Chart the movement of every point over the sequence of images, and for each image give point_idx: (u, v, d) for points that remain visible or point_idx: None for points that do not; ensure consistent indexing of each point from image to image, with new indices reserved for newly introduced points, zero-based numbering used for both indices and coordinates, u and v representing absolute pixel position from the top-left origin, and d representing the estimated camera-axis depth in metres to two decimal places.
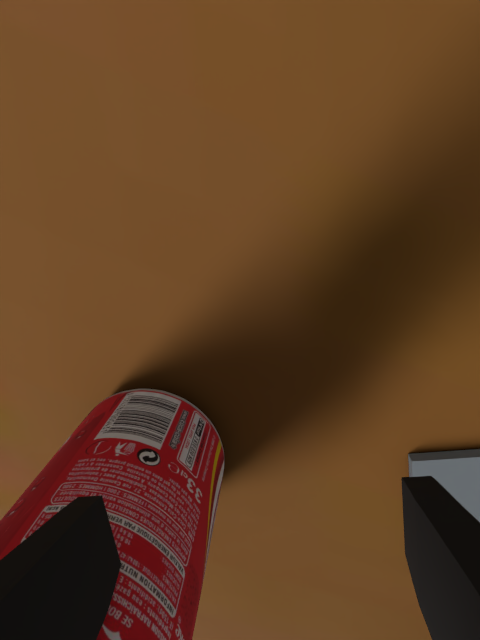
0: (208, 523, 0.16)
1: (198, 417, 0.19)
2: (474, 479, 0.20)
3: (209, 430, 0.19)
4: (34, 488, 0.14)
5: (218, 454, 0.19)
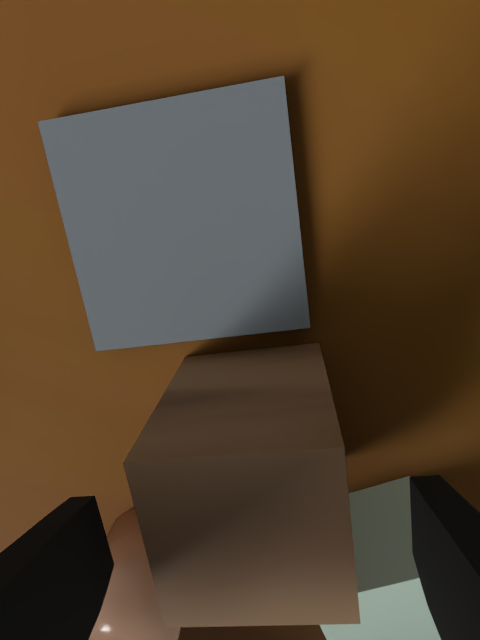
0: None
1: None
2: (137, 150, 0.12)
3: None
4: None
5: None
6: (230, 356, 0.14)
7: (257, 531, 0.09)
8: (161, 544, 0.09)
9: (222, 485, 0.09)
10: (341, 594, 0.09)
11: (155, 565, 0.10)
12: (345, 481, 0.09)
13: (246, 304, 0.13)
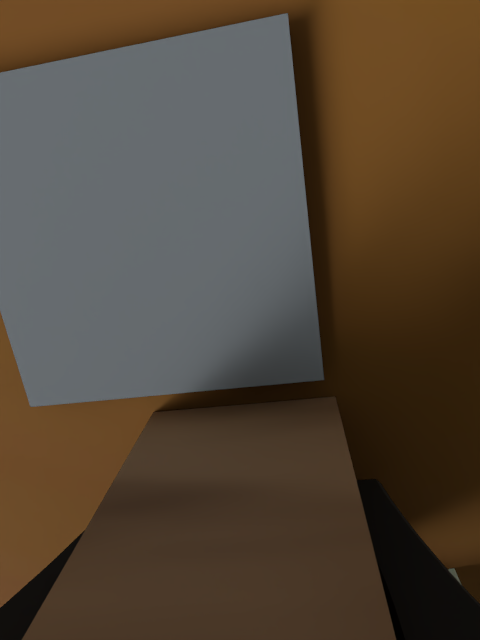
0: None
1: None
2: (74, 128, 0.08)
3: None
4: None
5: None
6: (213, 416, 0.10)
7: None
8: None
9: None
10: None
11: None
12: None
13: (234, 346, 0.09)
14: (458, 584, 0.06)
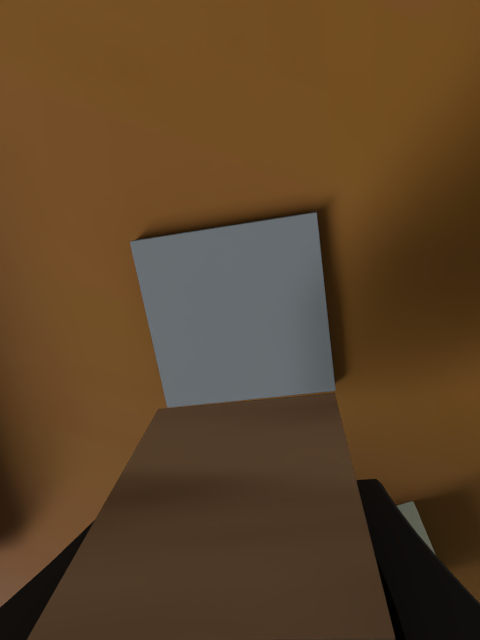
0: None
1: None
2: (205, 262, 0.16)
3: None
4: None
5: None
6: (216, 412, 0.10)
7: None
8: None
9: None
10: None
11: None
12: None
13: (286, 373, 0.17)
14: (459, 584, 0.06)
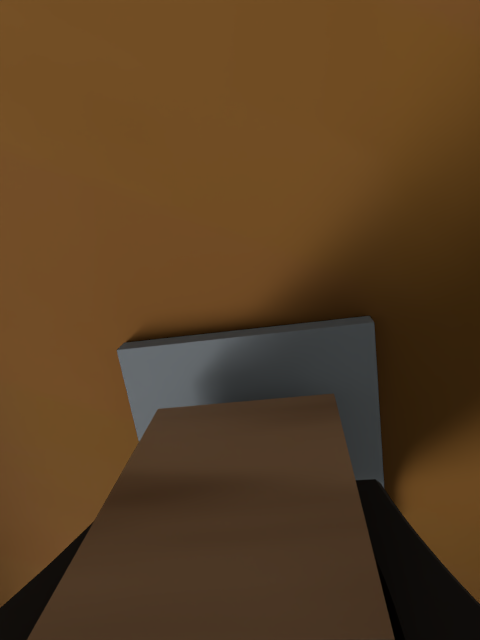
0: None
1: None
2: (218, 379, 0.12)
3: None
4: None
5: None
6: (215, 412, 0.10)
7: None
8: None
9: None
10: None
11: None
12: None
13: None
14: (458, 584, 0.06)
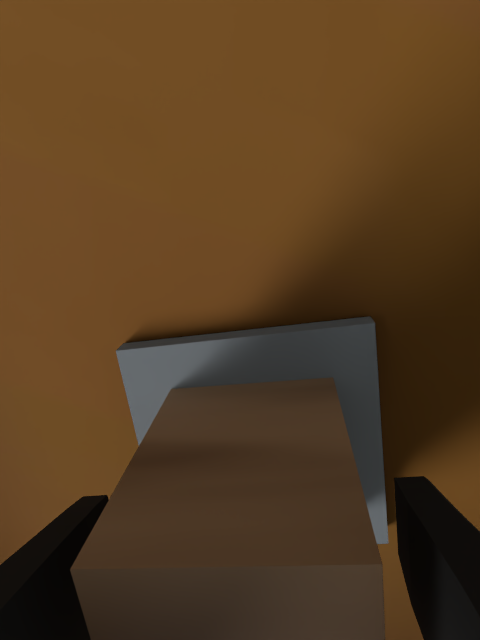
0: None
1: None
2: (217, 380, 0.12)
3: None
4: None
5: None
6: (224, 392, 0.11)
7: None
8: None
9: (208, 603, 0.06)
10: None
11: None
12: (380, 607, 0.06)
13: None
14: None
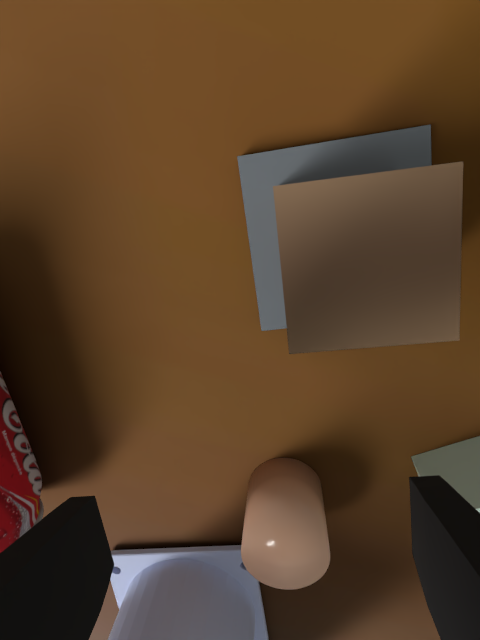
0: None
1: None
2: (312, 178, 0.16)
3: None
4: None
5: None
6: None
7: (381, 249, 0.11)
8: (296, 267, 0.11)
9: (356, 204, 0.11)
10: (445, 310, 0.11)
11: (287, 290, 0.11)
12: (460, 196, 0.10)
13: None
14: None
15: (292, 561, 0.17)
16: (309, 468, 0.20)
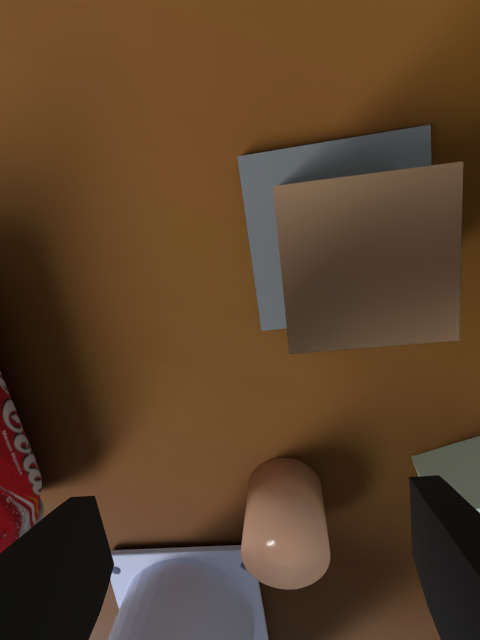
0: None
1: None
2: (312, 178, 0.16)
3: None
4: None
5: None
6: None
7: (381, 249, 0.11)
8: (296, 267, 0.11)
9: (356, 204, 0.11)
10: (445, 310, 0.11)
11: (287, 290, 0.11)
12: (460, 196, 0.10)
13: None
14: None
15: (292, 561, 0.17)
16: (309, 468, 0.20)
